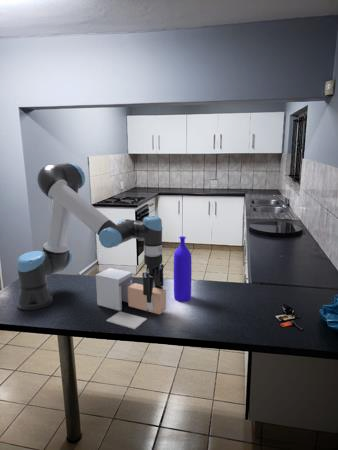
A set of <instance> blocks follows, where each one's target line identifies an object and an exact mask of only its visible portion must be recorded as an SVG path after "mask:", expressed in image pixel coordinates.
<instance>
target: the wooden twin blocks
mask: <svg viewBox="0 0 338 450" xmlns="http://www.w3.org/2000/svg"><path fill="white" fill-rule="evenodd" d="M166 294H167V290H166V289H164V288H163V289H159V288H155V286H153V291H152V295H153V310H151V309H147V296H146V295H143V284H140V283H136V282H134V283H132V285H130V286H129V287H128V302H127V303H128V307H130V308H135V309H138V310H142V311H145V312H150V313H153V314H155V315H161V314H162V313H164V312H165V311H166V310H167V295H166Z"/></svg>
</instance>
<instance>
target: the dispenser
mask: <svg viewBox="0 0 338 450" xmlns="http://www.w3.org/2000/svg"><path fill="white" fill-rule="evenodd" d="M133 280H134V276H133V272H131V271H126V270H123V269H117V268H112V267H109V268H106V269H105V270H102V271H101V272H99V273H97V274H95V287H96V302H97V306H100V307H104V308H108V309H112V310H115V311H118V312H119V311H120V312H121V311H122V310H123V304H122V302H125V303H128V287H129V286H130V285H132V284H133Z"/></svg>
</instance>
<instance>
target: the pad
mask: <svg viewBox="0 0 338 450" xmlns="http://www.w3.org/2000/svg"><path fill="white" fill-rule="evenodd" d="M147 320H148V318H147V317H142V316H140V315H139V316H138V315H136V314H131V313H127V312H123V311H121V310H120V311H119V310H118V312H117V313H115V314H113V315H112V316H111V317H109V318H107V319H106V322H108V323H112V324H115V325H118V326H121V327H125V328H129V329H132V330H136V329H137V328H138V327H140V326H141V325H142V324H143V323H144V322H146V321H147Z"/></svg>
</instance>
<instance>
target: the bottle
mask: <svg viewBox="0 0 338 450" xmlns="http://www.w3.org/2000/svg"><path fill="white" fill-rule="evenodd" d="M178 239H180V240H179V242H180V243H179V247H177V249H176V250H175V251H174V253H173V296H174V297H173V298H174V300H175V301H177V302H179V303H180V302H181V303H185V302H189V301H190V300H191V299H192V253H191V251H190V249H188V248H187V247H186V239H187V237H186V236H179V237H178Z"/></svg>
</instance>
